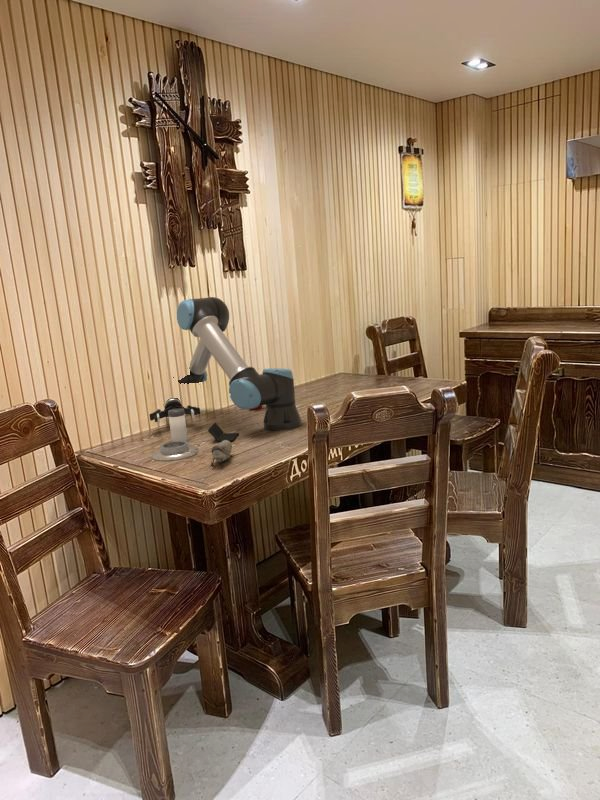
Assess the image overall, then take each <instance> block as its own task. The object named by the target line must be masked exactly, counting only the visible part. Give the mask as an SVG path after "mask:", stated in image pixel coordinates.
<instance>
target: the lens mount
mask: <svg viewBox="0 0 600 800" xmlns="http://www.w3.org/2000/svg"><path fill="white" fill-rule="evenodd" d="M189 444H190V443H189V441H188V440H187V441H172V440H171V441H168V442H165V443H163V444H161V445H160V446H159V449H157V450H154V451H153V452H152V454H151V457H152V459H153V460H154V461H157V460H158V462H159V461H160V462H172V461H173V462H174V461H180V460H184V459H188V458H190V457H193V456H195V455H197V454H198V453H199V447H198V446H197V445H193V444H191V445H189Z"/></svg>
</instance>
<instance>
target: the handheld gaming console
mask: <svg viewBox="0 0 600 800" xmlns="http://www.w3.org/2000/svg"><path fill="white" fill-rule="evenodd" d="M207 431H208V433H209V434H210V435H211V437H213V438H214V439H215V441H217V444H218V443H220V442H222V441H224V440H228V441H229V442H230V443H234V442H235V441H236V439H238V437H239V436H240V432H228V433H226V432H225V431H223V429H222V428H221V427H220V426H219V425H218V424H217V423H216V422H214V423H213V424H212V425H211V426H210V427H209V428H207Z"/></svg>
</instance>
